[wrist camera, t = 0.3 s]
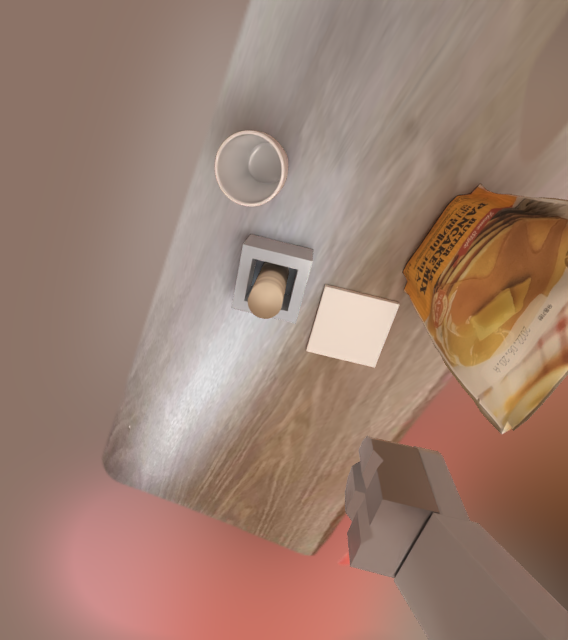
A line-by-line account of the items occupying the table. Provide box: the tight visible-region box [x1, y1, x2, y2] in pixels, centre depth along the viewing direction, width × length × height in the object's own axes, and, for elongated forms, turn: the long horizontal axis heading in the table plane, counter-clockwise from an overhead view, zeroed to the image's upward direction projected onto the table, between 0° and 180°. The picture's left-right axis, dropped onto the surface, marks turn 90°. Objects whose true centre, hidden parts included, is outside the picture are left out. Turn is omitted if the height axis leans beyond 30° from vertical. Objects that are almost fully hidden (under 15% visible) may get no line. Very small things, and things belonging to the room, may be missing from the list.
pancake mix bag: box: [403, 184, 568, 434], centre depth 38 cm, size 7×19×28 cm, turn 152°
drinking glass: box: [215, 130, 288, 206], centre depth 42 cm, size 7×7×15 cm
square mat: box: [306, 284, 400, 368], centre depth 57 cm, size 11×11×1 cm
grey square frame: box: [231, 234, 313, 324], centre depth 52 cm, size 9×9×6 cm
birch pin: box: [248, 262, 289, 319], centre depth 49 cm, size 4×4×12 cm
